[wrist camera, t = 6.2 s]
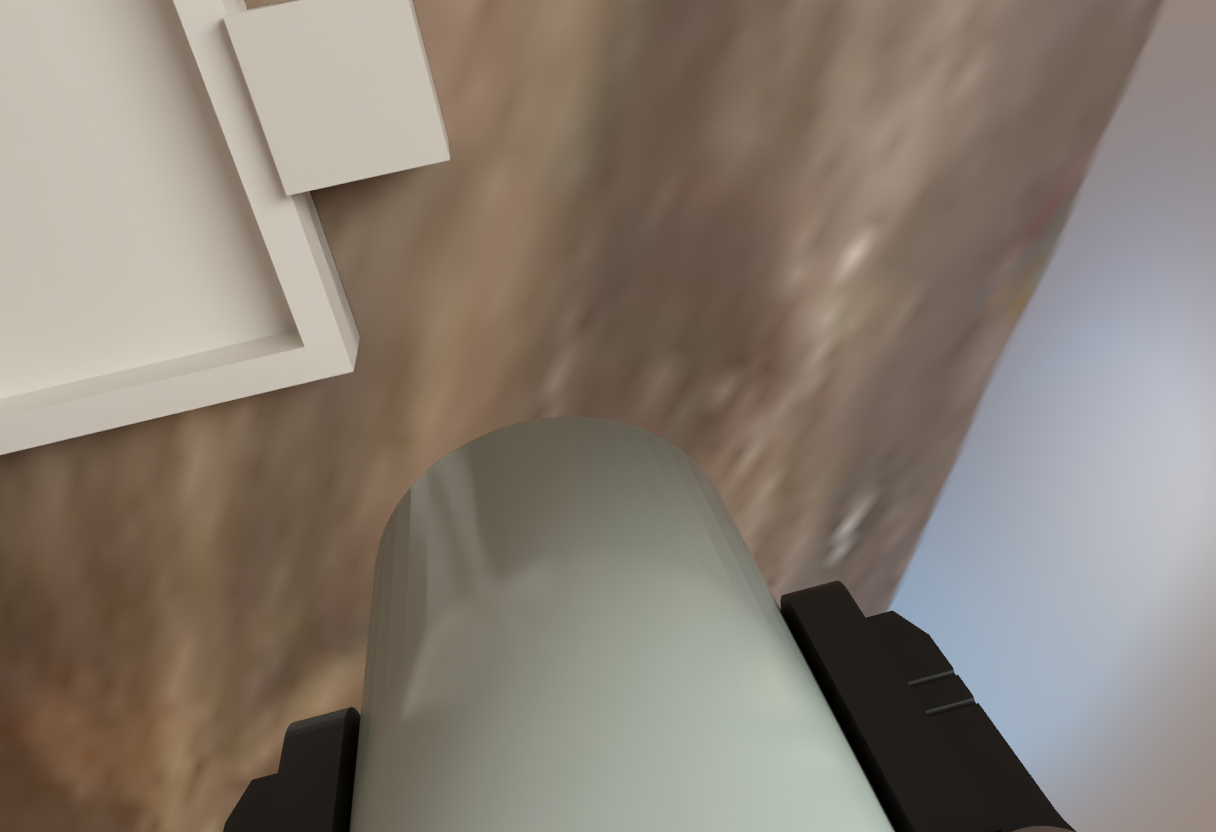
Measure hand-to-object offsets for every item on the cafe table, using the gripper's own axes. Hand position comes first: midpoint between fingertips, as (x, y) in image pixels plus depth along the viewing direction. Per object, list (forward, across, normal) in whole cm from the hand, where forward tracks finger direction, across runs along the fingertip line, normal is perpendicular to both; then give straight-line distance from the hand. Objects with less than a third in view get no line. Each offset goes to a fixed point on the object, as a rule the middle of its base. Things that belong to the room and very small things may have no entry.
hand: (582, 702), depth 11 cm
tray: (+17, +10, -6) cm, 21 cm away
